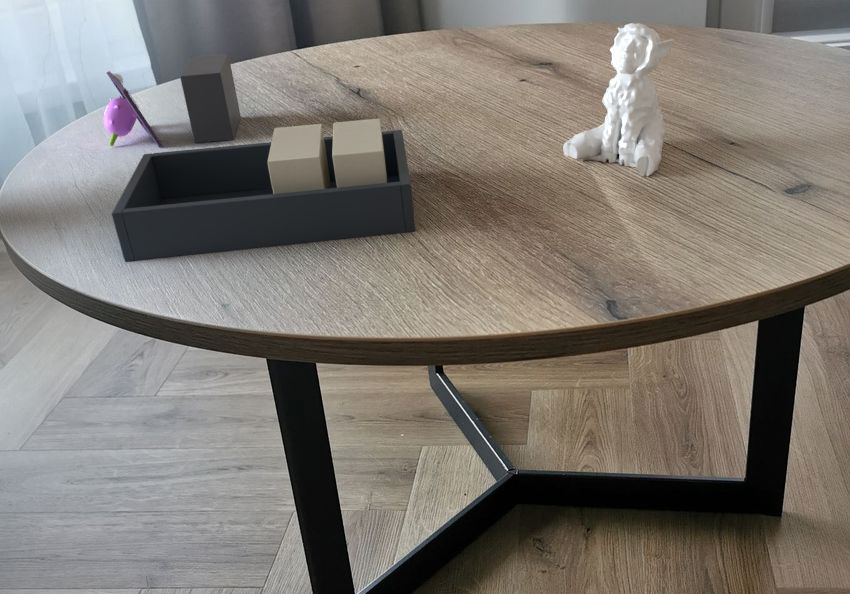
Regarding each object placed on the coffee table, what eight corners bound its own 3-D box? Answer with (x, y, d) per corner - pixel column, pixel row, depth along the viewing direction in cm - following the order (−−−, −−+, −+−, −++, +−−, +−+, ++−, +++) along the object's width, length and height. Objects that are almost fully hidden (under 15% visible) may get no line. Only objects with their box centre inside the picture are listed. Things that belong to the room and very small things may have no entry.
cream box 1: (280, 232, 77) (267, 161, 74) (286, 194, 85) (274, 127, 82) (330, 227, 78) (319, 156, 75) (331, 189, 85) (321, 123, 82)
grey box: (194, 143, 100) (179, 76, 96) (204, 120, 107) (190, 56, 103) (233, 139, 100) (220, 72, 97) (240, 117, 107) (228, 53, 104)
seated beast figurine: (559, 162, 90) (556, 30, 83) (604, 134, 96) (605, 10, 89) (650, 179, 85) (655, 40, 79) (692, 149, 91) (699, 18, 85)
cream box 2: (342, 226, 78) (332, 155, 75) (342, 188, 85) (333, 122, 82) (391, 221, 78) (383, 150, 75) (387, 183, 85) (380, 117, 82)
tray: (126, 268, 74) (111, 213, 72) (156, 203, 86) (143, 153, 84) (416, 238, 76) (410, 183, 74) (407, 178, 88) (401, 129, 86)
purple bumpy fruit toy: (132, 85, 95) (115, 67, 102) (85, 112, 94) (71, 91, 101) (169, 142, 99) (150, 121, 106) (125, 168, 98) (109, 145, 105)
